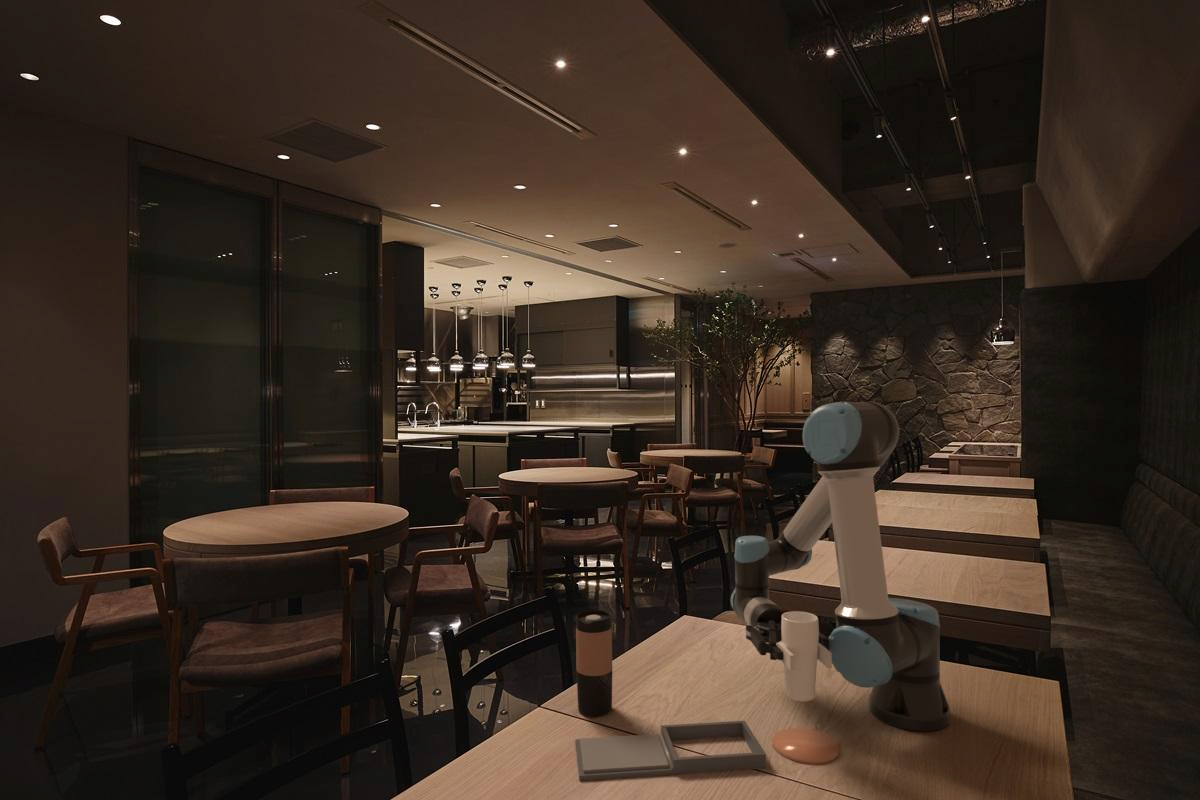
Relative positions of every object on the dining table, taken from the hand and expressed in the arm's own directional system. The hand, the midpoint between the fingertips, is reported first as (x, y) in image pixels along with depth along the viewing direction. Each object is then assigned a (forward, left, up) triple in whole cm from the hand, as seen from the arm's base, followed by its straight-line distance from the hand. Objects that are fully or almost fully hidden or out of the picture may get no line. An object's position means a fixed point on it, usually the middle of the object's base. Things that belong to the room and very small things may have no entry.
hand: (810, 661), depth 123 cm
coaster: (-1, -5, -18) cm, 19 cm away
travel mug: (+37, -25, -18) cm, 48 cm away
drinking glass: (0, -5, -9) cm, 10 cm away
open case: (+26, -5, -18) cm, 32 cm away
